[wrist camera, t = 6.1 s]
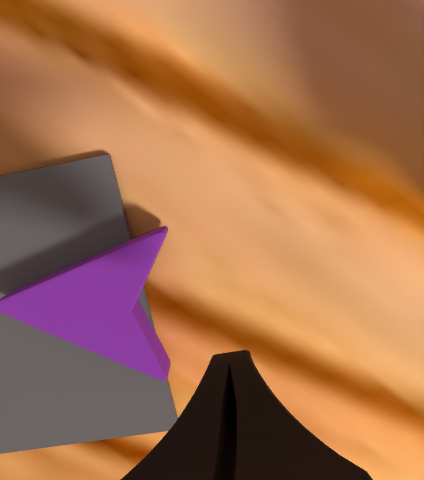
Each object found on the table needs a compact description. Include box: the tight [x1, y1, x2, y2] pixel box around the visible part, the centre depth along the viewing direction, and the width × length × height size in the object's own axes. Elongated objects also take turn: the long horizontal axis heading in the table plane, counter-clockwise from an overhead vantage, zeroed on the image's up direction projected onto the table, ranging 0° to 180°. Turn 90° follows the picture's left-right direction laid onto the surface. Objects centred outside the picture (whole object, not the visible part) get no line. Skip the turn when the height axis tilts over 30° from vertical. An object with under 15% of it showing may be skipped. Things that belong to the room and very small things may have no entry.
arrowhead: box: [0, 226, 170, 381], centre depth 19 cm, size 10×2×10 cm
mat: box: [0, 154, 178, 454], centre depth 21 cm, size 14×18×1 cm
